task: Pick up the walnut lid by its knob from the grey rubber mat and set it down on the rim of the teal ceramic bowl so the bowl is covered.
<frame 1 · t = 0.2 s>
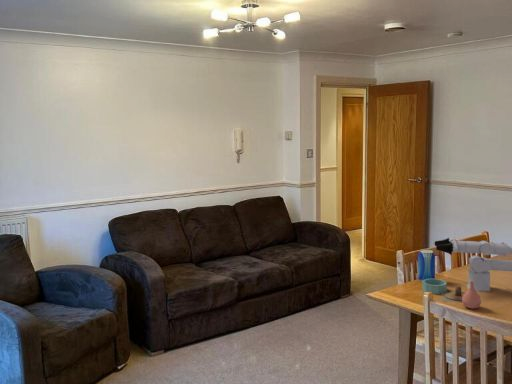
hand: (435, 245, 247), 21 cm above the table, tool horizontal, fingers open, 7 cm apart
lid: (458, 292, 233), on the mat
perfume bottle: (471, 308, 220), on the table
beer can: (426, 281, 259), on the table
mat: (458, 297, 234), on the table
bowl: (434, 290, 244), on the table
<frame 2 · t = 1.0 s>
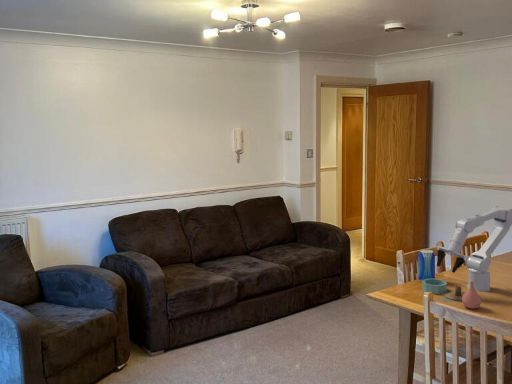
hand: (445, 269, 236), 13 cm above the table, tool tilted 30°, fingers open, 7 cm apart
nothing on the table moved.
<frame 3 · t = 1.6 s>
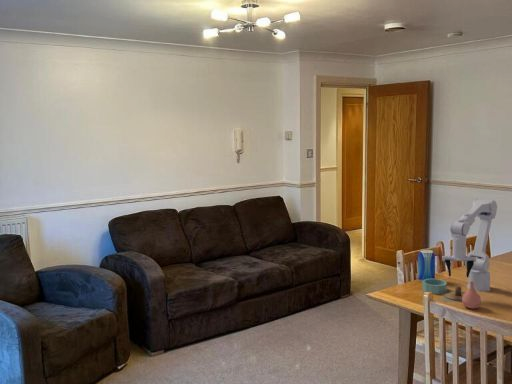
hand: (458, 276, 232), 10 cm above the table, tool pointing down, fingers open, 7 cm apart
nothing on the table moved.
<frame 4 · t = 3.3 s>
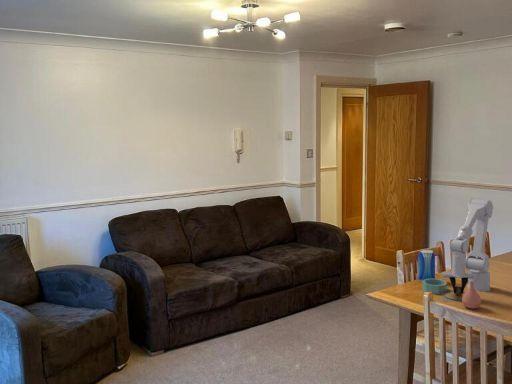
hand: (458, 293, 233), 2 cm above the table, tool pointing down, fingers closed on lid, 3 cm apart
lid: (458, 292, 233), on the mat, touching gripper
everything else where it was.
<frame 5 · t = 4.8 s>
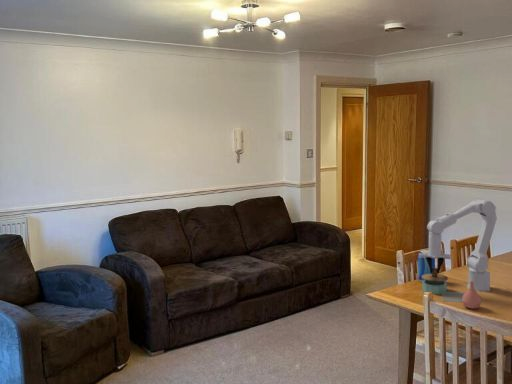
hand: (434, 272, 243), 9 cm above the table, tool pointing down, fingers closed on lid, 3 cm apart
lid: (434, 273, 243), point 9 cm above the table, touching gripper
everything else where it was.
when the fingers open (7 cm above the table, at t = 5.3 s): lid stays where it is, resting on bowl.
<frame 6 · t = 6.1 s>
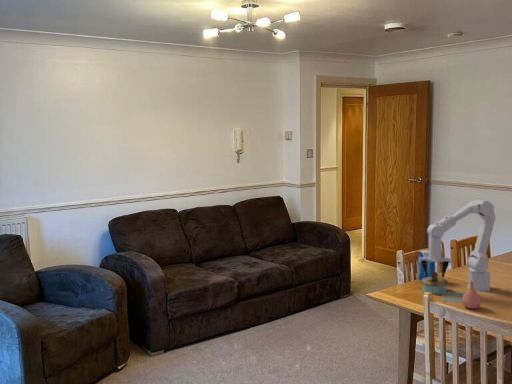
hand: (434, 276, 243), 7 cm above the table, tool pointing down, fingers open, 7 cm apart
lid: (434, 277, 243), on the bowl, point 7 cm above the table
everything else where it was.
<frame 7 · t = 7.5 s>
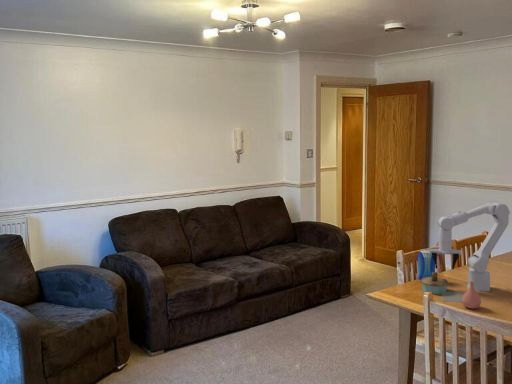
hand: (444, 268, 245), 10 cm above the table, tool pointing down, fingers open, 7 cm apart
nothing on the table moved.
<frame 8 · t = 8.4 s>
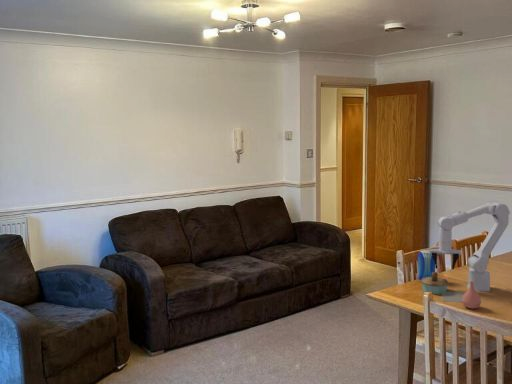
hand: (444, 268, 245), 10 cm above the table, tool pointing down, fingers open, 7 cm apart
nothing on the table moved.
at the end: lid 0.4 cm off-centre on the bowl, point 6.9 cm above the bowl's base; lid tilted 0°; the gripper is holding nothing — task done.
